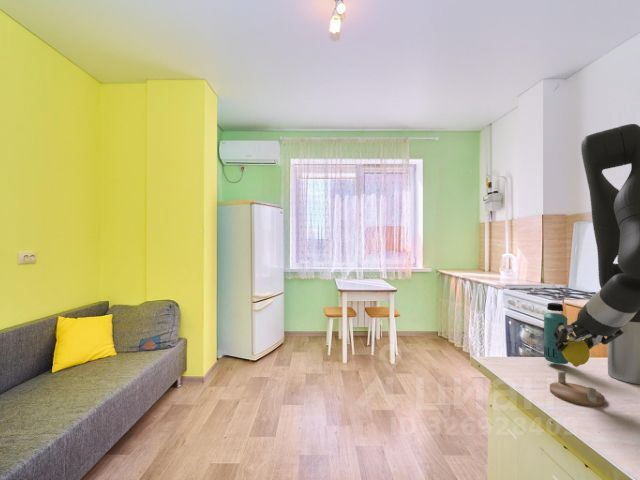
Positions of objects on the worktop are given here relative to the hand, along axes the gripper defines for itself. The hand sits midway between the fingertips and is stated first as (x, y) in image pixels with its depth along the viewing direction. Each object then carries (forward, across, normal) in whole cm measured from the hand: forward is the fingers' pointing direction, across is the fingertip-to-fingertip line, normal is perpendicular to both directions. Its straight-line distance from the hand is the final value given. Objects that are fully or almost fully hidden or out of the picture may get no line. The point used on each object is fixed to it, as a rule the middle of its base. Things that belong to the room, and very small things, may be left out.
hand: (570, 347), depth 82 cm
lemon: (+2, 0, +4) cm, 5 cm away
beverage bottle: (+22, -9, -6) cm, 24 cm away
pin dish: (+7, 0, +9) cm, 12 cm away
